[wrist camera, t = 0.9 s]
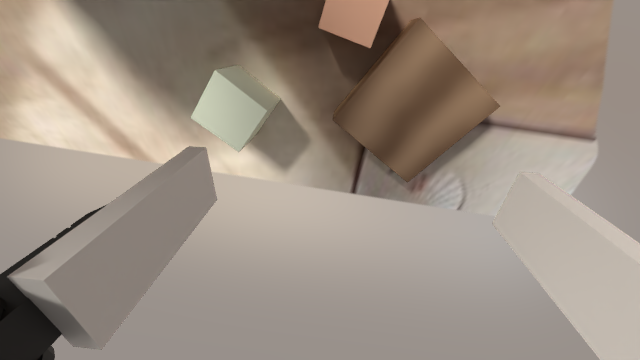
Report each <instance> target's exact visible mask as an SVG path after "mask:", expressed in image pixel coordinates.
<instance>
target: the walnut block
mask: <svg viewBox="0 0 640 360" xmlns="http://www.w3.org/2000/svg"><path fill="white" fill-rule="evenodd" d="M499 107H500V105H499V104H498V103H497V102H496V101H495V100H494V99H493V98H492V96H491V95H490V94H489V93H488V92H487V91H486V90H485V89H484V88H483V87H482V85H481V84H480V83H479V82H478V81H477V80H476V79H475V78H474V77H473V75H472V74H471V73H470V72H469V71H468V70H467V69H466V68H465V67H464V66H463V64H462V63H461V62H460V61H459V60H458V59H457V58H456V57H455V56H454V54H453V53H452V52H451V51H450V50H449V49H448V48H447V47H446V46H445V44H444V43H443V42H442V41H441V40H440V39H439V38H438V37H437V36H436V35H435V33H434V32H433V31H432V30H431V29H430V28H429V27H428V26H427V25H426V23H425V22H424V21H423V20H422V19H421V18H417V19H414V20H411V21H410V22H409V23H408V24H407V26H406V27H405V28H404V29H403V30H402V32H401V33H400V34H399V35H398V36H397V37H396V39H395V40H394V41H393V42H392V43H391V45H390V46H389V47H388V48H387V49H386V51H385V52H384V53H383V54H382V55H381V57H380V58H379V59H378V60H377V61H376V62H375V64H374V65H373V66H372V67H371V68H370V70H369V71H368V72H367V73H366V74H365V76H364V77H363V78H362V79H361V80H360V82H359V83H358V84H357V85H356V86H355V87H354V89H353V90H352V91H351V92H350V93H349V95H348V96H347V97H346V98H345V99H344V101H343V102H342V103H341V104H340V105H339V107H338V108H337V109H336V110H335V111H334V115H333V121H334V122H336V123H337V124H338V125H339V126H340V127H342V128H343V129H344V130H345V131H346V132H348V133H349V134H350V135H351V136H352V137H354V138H355V139H356V140H357V141H358V142H360V143H361V144H362V145H363V146H364V147H366V148H367V149H368V150H369V151H370V152H371V153H373V154H374V155H375V156H376V157H377V158H379V159H380V160H381V161H382V162H383V163H385V164H386V165H387V166H388V167H389V168H391V169H392V170H393V171H394V172H395V173H397V174H398V175H399V176H400V177H401V178H402V179H404V180H405V181H406V182H409V181H410V180H411V179H412V178H414V177H415V176H416V175H417V174H418V173H420V172H421V171H422V170H423V169H425V168H426V167H427V166H428V165H429V164H431V163H432V162H433V161H434V160H435V159H437V158H438V157H439V156H440V155H442V154H443V153H444V152H445V151H446V150H448V149H449V148H450V147H451V146H452V145H454V144H455V143H456V142H457V141H459V140H460V139H461V138H462V137H463V136H465V135H466V134H467V133H468V132H469V131H471V130H472V129H473V128H474V127H476V126H477V125H478V124H479V123H480V122H482V121H483V120H484V119H485V118H486V117H488V116H489V115H490V114H491V113H493V112H494V111H495V110H496V109H497V108H499Z"/></svg>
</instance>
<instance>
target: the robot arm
mask: <svg viewBox="0 0 640 360" xmlns="http://www.w3.org/2000/svg"><path fill="white" fill-rule="evenodd" d="M216 200H217V197H216V192H215V187H214V183H213V178H212V173H211V168H210V164H209V159H208V154H207V149H206V148H204V147H191V146H189V147H187V148H186V149H185V150H183V151H182V152H180V153H179V154H178V155H176V156H175V157H173V158H172V159H171V160H169V161H168V162H166V163H165V164H164V165H162V166H161V167H159V168H158V169H157V170H155V171H154V172H152V173H151V174H150V175H148V176H147V177H145V178H144V179H143V180H141V181H140V182H138V183H137V184H136V185H134V186H133V187H131V188H130V189H129V190H127V191H126V192H125V193H123V194H122V195H120V196H119V197H117V198H116V199H115V200H113V201H112V202H110V203H109V204H107V205H105V206H103V207H101V208H99V209H97V210H94V211H93V212H90V213H88V214H86V215H85V216H84V217H82V218H81V219H79V220H78V221H76V222H75V223H73V224H72V225H71V227H70V228H66V229H65V230H63V231H62V232H61V233H59V234H58V235H57V237H56V238H52V239H50V240H49V241H48V242H46V243H45V244H43V245H42V246H40V247H39V248H37V249H36V250H35V251H33V252H32V253H30V254H29V255H28V256H26V257H25V258H23V259H22V260H20V261H19V262H17V263H16V264H15V265H13V266H12V267H10V268H9V269H8V270H6V271H5V272H3V273H2V274H0V360H54V358H55V354H54V348H53V347H52V346H51V345H52V344H53V343H54V342H55V340H56V339H57V338H58V337H59V336H60V335H61V334H62V335H63V336H64V337H65V338H66V339H67V341H68V342H69V343H70V344H71V345H72V346H73V347H82V348H91V349H99V350H102V349H103V347H104V346H105V345H106V343H107V342H108V341H109V339H110V338H111V337H112V336H113V334H114V333H115V332H116V330H117V329H118V328H119V326H120V325H121V324H122V322H123V321H124V320H125V319H126V317H127V316H128V315H129V314H130V312H131V311H132V310H133V308H134V307H135V306H136V304H137V303H138V302H139V301H140V299H141V298H142V297H143V295H144V294H145V293H146V291H147V290H148V289H149V287H150V286H151V285H152V284H153V282H154V281H155V280H156V278H157V277H158V276H159V275H160V273H161V272H162V271H163V269H164V268H165V267H166V265H167V264H168V263H169V262H170V260H171V259H172V258H173V256H174V255H175V254H176V252H177V251H178V250H179V249H180V247H181V246H182V244H183V243H184V242H185V241H186V239H187V238H188V237H189V236H190V234H191V233H192V231H193V230H194V229H195V228H196V226H197V225H198V224H199V222H200V221H201V220H202V218H203V217H204V216H205V215H206V213H207V212H208V211H209V210H210V208H211V207H212V206H213V204H214V203H215V202H216ZM492 224H493V226H494V227H495V228H496V229H497V231H498V232H499V233H500V234H501V236H502V237H503V238H504V239H505V241H506V242H507V243H508V244H509V246H510V247H511V248H512V249H513V251H514V252H515V253H516V254H517V256H518V257H519V258H520V259H521V261H522V262H523V263H524V265H525V266H526V267H527V268H528V270H529V271H530V272H531V273H532V275H533V276H534V277H535V278H536V279H537V281H538V282H539V283H540V285H541V286H542V287H543V288H544V289H545V291H546V292H547V293H548V294H549V296H550V297H551V298H552V300H553V301H554V302H555V303H556V305H557V306H558V307H559V308H560V310H561V311H562V312H563V313H564V315H565V316H566V317H567V318H568V320H569V321H570V322H571V323H572V325H573V326H574V327H575V328H576V330H577V331H578V332H579V334H580V335H581V336H582V337H583V339H584V340H585V341H586V342H587V344H588V345H589V346H590V347H591V349H592V350H593V351H594V352H595V354H596V355H597V356H598V357H599V359H600V360H640V244H639V243H638V242H637V241H635V240H634V239H632V238H631V237H630V236H628V235H627V234H625V233H624V232H622V231H621V230H619V229H618V228H617V227H615V226H614V225H612V224H611V223H609V222H608V221H607V220H605V219H604V218H602V217H601V216H599V215H598V214H596V213H595V212H594V211H592V210H591V209H589V208H588V207H587V206H585V205H584V204H582V203H581V202H579V201H578V200H577V199H575V198H574V197H572V196H571V195H569V194H568V193H567V192H565V191H564V190H562V189H561V188H559V187H558V186H557V185H555V184H554V183H552V182H551V181H549V180H548V179H546V178H545V177H544V176H542V175H541V174H539V173H527V172H519V174H518V176H517V178H516V180H515V182H514V183H513V185H512V187H511V189H510V191H509V193H508V195H507V196H506V198H505V200H504V202H503V204H502V206H501V208H500V209H499V211H498V213H497V215H496V217H495V219H494V221H493V223H492Z"/></svg>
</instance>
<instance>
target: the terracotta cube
mask: <svg viewBox="0 0 640 360" xmlns="http://www.w3.org/2000/svg"><path fill="white" fill-rule="evenodd" d="M388 2H389V0H326V1H325V5H324V9H323V12H322V16H321V19H320V23H319V26H318V28H320V29H322V30H324V31H327V32H329V33H332V34H334V35H337V36H339V37H342V38H345V39H347V40H350V41H352V42H355V43H357V44H360V45H362V46H365V47H367V48H371V46H372V43H373V40H374V38H375V35H376V33H377V30H378V28H379V25H380V23H381V20H382V18H383V15H384V12H385V10H386V7H387V5H388Z"/></svg>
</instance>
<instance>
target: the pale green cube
mask: <svg viewBox="0 0 640 360" xmlns="http://www.w3.org/2000/svg"><path fill="white" fill-rule="evenodd" d="M279 101H280V98H279V97H278V96H277V95H275V94H274V93H273V92H272V91H270V90H269V89H268V88H267V87H266V86H264V85H263V84H262V83H261V82H259V81H258V80H257V79H256V78H254V77H253V76H252V75H251V74H250V73H248V72H247V71H246V70H245V69H243V68H242V67H241V66H240V65H235V66H231V67H226V68H221V69H217V70H215V71H214V73H213V75H212V76H211V78H210V80H209V82H208V84H207V86H206V88H205V90H204V92H203V94H202V96H201V98H200V100H199V102H198V104H197V106H196V108H195V110H194V112H193V114H192V116H191V119H193V120H194V121H196V122H197V123H198V124H200V125H201V126H203V127H204V128H205V129H207V130H208V131H210V132H211V133H213V134H214V135H215V136H217V137H218V138H220V139H221V140H222V141H224V142H225V143H227V144H228V145H230V146H231V147H232V148H234V149H235V150H237V151H238V152H240V151H241V150H242V149H243V148H244V147H245V146H246V144H247V143H248V142H249V141H250V140H251V139H252V138H253V137H254V136H255V135H256V134H257V133H258V131H259V130H260V128H261V127H262V125H263V124H264V122H265V121H266V120H267V118H268V117H269V115H270V114H271V112H272V111H273V109H274V108H275V107H276V105H277V104H278V102H279Z"/></svg>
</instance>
